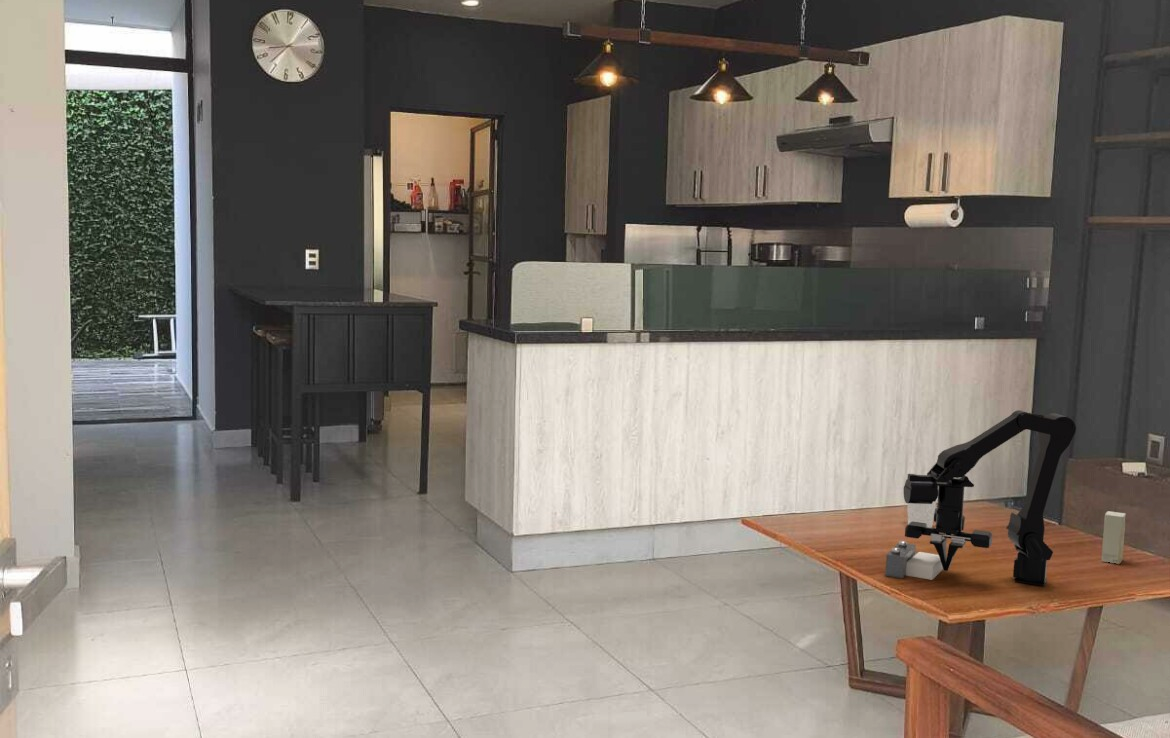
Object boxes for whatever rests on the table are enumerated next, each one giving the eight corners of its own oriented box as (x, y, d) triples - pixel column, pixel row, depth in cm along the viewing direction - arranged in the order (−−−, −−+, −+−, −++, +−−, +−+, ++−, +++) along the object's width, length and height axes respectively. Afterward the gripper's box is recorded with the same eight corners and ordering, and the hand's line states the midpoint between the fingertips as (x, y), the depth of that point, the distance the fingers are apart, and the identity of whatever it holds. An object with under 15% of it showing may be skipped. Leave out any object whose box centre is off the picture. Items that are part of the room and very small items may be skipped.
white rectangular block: (943, 570, 262) (944, 556, 262) (931, 581, 252) (932, 566, 252) (918, 565, 265) (919, 551, 265) (905, 576, 255) (906, 562, 255)
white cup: (901, 522, 311) (903, 487, 310) (927, 523, 311) (930, 488, 311) (912, 529, 303) (914, 493, 302) (939, 529, 304) (942, 494, 303)
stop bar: (914, 565, 264) (916, 540, 264) (902, 578, 252) (904, 553, 251) (897, 562, 266) (899, 538, 265) (885, 575, 254) (886, 550, 253)
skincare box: (1119, 564, 273) (1123, 517, 272) (1100, 561, 275) (1104, 514, 274) (1122, 559, 278) (1126, 512, 277) (1103, 556, 281) (1107, 510, 279)
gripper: (997, 503, 255) (993, 569, 257) (915, 493, 264) (912, 557, 265) (990, 512, 246) (986, 580, 247) (906, 501, 254) (902, 567, 256)
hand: (946, 570), depth 254 cm, fingers closed
